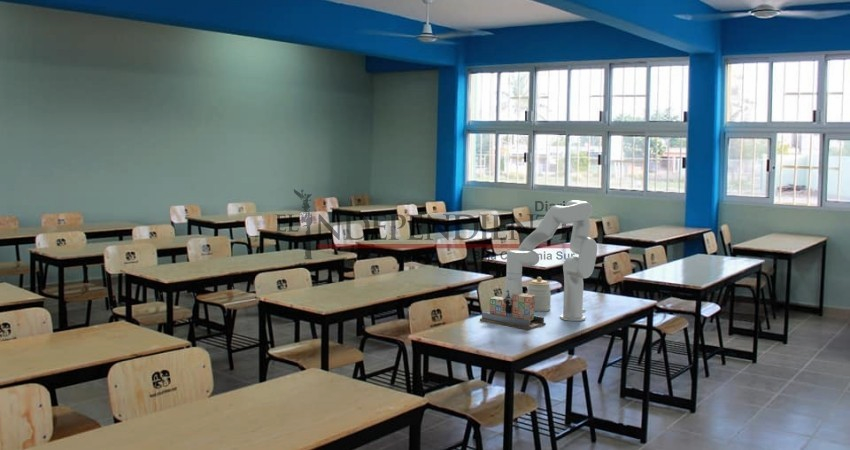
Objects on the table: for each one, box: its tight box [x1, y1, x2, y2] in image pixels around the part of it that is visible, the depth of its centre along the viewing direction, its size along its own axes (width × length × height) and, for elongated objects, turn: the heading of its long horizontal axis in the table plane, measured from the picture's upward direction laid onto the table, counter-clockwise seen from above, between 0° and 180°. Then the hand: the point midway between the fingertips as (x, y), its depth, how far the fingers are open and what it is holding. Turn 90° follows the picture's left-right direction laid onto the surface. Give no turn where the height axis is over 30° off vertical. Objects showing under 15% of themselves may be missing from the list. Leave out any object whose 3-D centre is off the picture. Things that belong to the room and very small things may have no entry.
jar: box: [526, 276, 552, 312], centre depth 404 cm, size 13×13×18 cm
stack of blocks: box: [489, 292, 535, 321], centre depth 371 cm, size 21×6×12 cm, turn 61°
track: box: [479, 311, 547, 331], centre depth 371 cm, size 16×28×4 cm, turn 49°
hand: (513, 311), depth 371 cm, fingers closed on stack of blocks, 7 cm apart
